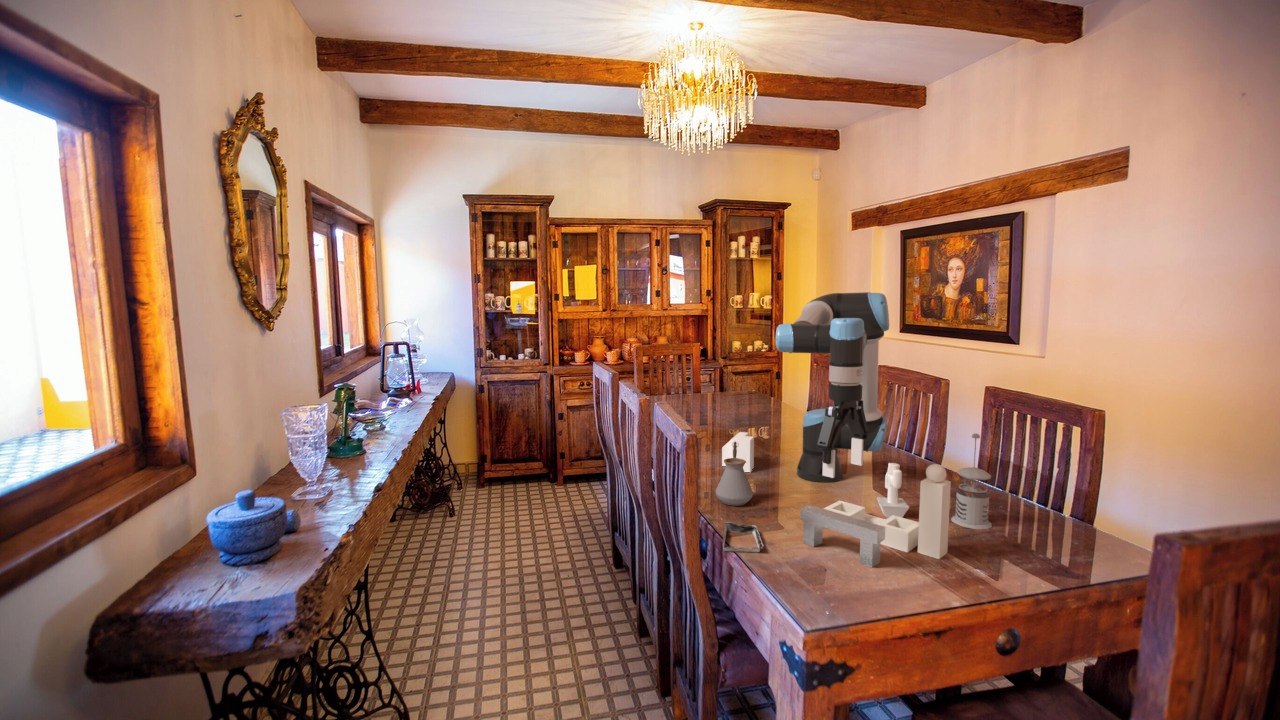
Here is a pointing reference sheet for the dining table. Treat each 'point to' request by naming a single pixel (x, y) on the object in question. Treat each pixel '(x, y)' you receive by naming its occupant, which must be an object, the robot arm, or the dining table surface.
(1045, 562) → the dining table surface
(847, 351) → the robot arm
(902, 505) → the figurine
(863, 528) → the grey bench
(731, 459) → the grey vase
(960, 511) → the french press
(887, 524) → the headboard post
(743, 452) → the corner bracket
